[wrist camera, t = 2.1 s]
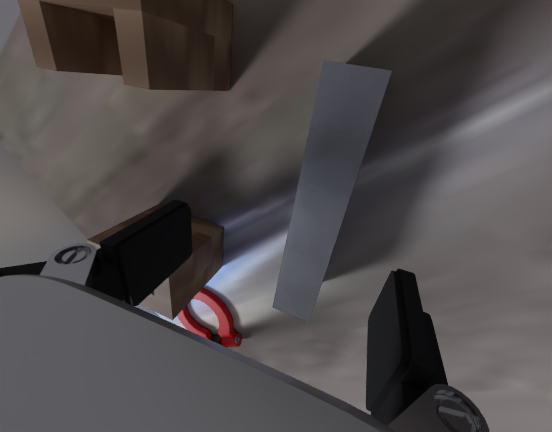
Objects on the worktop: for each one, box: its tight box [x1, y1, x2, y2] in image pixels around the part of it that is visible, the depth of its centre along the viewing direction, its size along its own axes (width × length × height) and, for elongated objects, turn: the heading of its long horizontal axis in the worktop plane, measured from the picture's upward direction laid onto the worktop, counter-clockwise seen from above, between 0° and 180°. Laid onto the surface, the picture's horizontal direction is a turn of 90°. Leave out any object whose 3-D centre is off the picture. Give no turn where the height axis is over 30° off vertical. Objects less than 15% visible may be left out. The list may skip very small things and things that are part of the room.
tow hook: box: [177, 288, 242, 347], centre depth 26 cm, size 8×13×9 cm
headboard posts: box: [18, 0, 233, 320], centre depth 19 cm, size 22×8×8 cm, turn 172°
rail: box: [273, 60, 392, 323], centre depth 17 cm, size 17×3×5 cm, turn 171°
